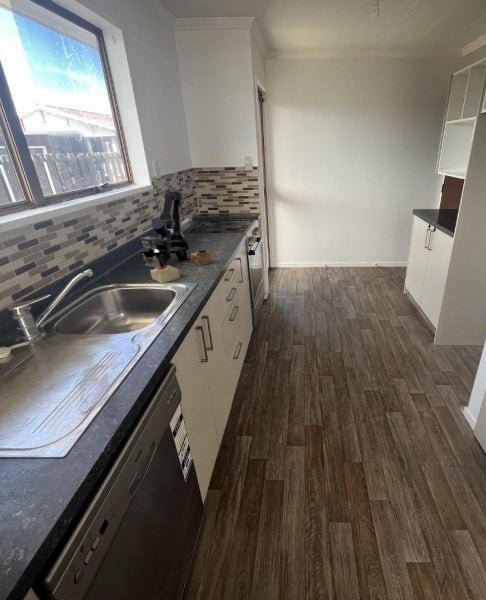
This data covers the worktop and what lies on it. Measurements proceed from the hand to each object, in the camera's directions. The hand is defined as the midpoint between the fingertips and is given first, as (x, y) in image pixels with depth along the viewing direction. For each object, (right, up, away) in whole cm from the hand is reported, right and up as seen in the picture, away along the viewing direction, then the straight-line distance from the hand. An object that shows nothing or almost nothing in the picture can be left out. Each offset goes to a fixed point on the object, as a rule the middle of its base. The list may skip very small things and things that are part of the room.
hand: (161, 267), depth 162 cm
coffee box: (-14, +3, +24) cm, 28 cm away
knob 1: (0, -2, +1) cm, 2 cm away
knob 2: (+13, +11, +23) cm, 29 cm away
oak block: (+11, +6, +28) cm, 31 cm away
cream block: (0, -5, +6) cm, 8 cm away
